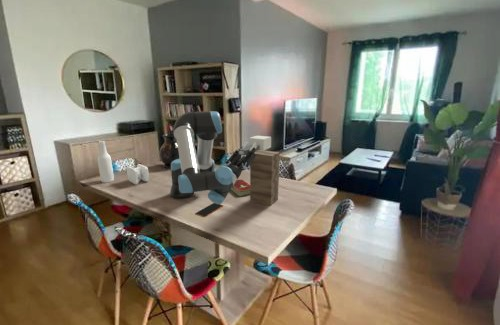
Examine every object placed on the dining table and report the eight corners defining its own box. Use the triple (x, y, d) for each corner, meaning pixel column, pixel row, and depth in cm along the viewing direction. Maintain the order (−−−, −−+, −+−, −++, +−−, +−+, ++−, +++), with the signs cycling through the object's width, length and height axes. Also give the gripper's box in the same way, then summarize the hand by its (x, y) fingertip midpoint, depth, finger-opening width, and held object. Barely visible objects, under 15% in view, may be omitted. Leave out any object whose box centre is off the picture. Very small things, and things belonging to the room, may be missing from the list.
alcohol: (100, 180, 197) (93, 141, 189) (112, 178, 202) (107, 139, 194) (102, 183, 191) (95, 142, 183) (115, 181, 196) (109, 141, 188)
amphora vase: (188, 167, 231) (186, 135, 223) (163, 171, 220) (160, 137, 212) (181, 161, 248) (178, 132, 241) (157, 165, 237) (154, 134, 230)
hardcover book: (242, 184, 191) (241, 178, 190) (255, 194, 173) (255, 188, 172) (226, 186, 186) (226, 181, 184) (239, 197, 167) (239, 191, 166)
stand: (270, 205, 154) (272, 156, 146) (250, 200, 161) (250, 153, 153) (278, 199, 163) (279, 152, 155) (258, 195, 170) (258, 149, 161)
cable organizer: (127, 180, 196) (125, 166, 193) (141, 177, 204) (139, 163, 201) (136, 185, 187) (134, 170, 183) (150, 182, 194) (148, 167, 191)
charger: (248, 156, 129) (248, 144, 127) (233, 154, 133) (233, 142, 132) (270, 147, 149) (271, 136, 148) (257, 145, 154) (257, 135, 152)
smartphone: (194, 214, 144) (194, 213, 144) (214, 203, 158) (213, 202, 158) (204, 218, 140) (204, 216, 140) (224, 206, 154) (224, 205, 154)
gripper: (218, 177, 132) (240, 147, 146) (248, 183, 124) (267, 151, 137) (213, 167, 127) (236, 136, 141) (243, 172, 119) (264, 139, 132)
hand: (251, 143), depth 139 cm, fingers closed on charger, 4 cm apart
